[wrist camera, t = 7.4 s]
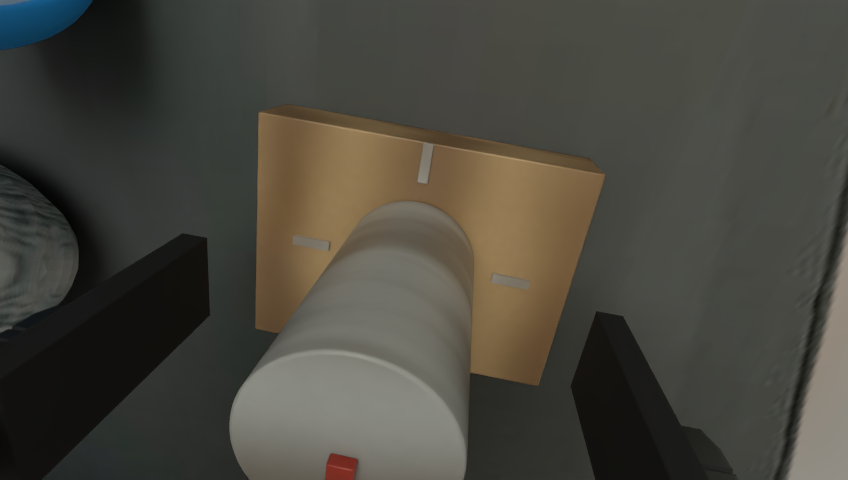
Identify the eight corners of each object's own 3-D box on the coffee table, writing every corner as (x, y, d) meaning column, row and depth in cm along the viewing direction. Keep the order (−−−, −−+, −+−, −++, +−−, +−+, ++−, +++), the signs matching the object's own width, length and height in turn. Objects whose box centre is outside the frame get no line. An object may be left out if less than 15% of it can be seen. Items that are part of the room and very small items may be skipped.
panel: (278, 299, 22) (252, 331, 19) (285, 103, 18) (255, 112, 16) (532, 350, 21) (538, 389, 19) (590, 158, 18) (607, 175, 15)
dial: (354, 188, 17) (217, 336, 8) (486, 214, 16) (492, 394, 8) (341, 303, 18) (220, 522, 10) (460, 327, 18) (441, 572, 10)
